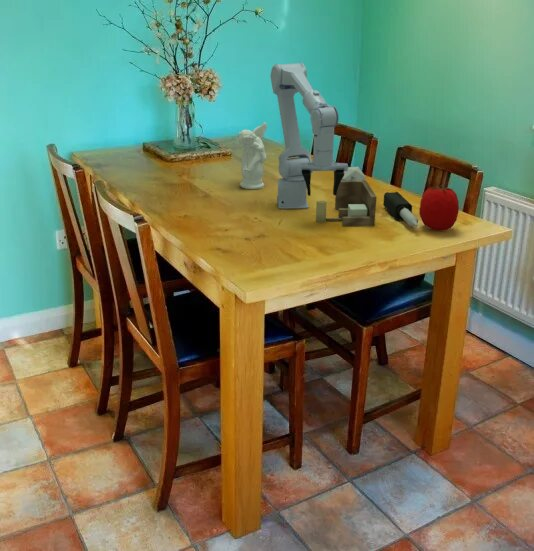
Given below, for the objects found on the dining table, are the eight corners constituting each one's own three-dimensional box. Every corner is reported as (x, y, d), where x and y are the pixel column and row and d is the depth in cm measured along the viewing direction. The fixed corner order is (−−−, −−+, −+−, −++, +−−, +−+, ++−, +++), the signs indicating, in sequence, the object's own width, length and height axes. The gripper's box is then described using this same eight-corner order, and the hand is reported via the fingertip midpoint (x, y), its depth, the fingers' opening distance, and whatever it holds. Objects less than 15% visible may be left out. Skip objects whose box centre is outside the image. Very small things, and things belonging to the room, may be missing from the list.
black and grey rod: (383, 207, 222) (407, 234, 199) (384, 192, 220) (409, 217, 197) (398, 206, 222) (424, 233, 200) (399, 191, 220) (426, 216, 198)
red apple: (440, 239, 196) (445, 194, 190) (408, 227, 205) (411, 183, 199) (466, 231, 202) (472, 187, 197) (434, 219, 211) (439, 177, 206)
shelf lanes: (342, 226, 205) (344, 197, 202) (334, 208, 221) (336, 180, 217) (374, 225, 206) (376, 196, 202) (364, 207, 221) (366, 180, 218)
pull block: (316, 224, 207) (317, 204, 204) (314, 218, 211) (315, 199, 209) (366, 223, 207) (367, 204, 205) (363, 218, 212) (364, 199, 210)
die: (333, 191, 241) (340, 173, 233) (342, 174, 245) (349, 156, 237) (354, 200, 240) (362, 184, 232) (363, 183, 244) (371, 166, 236)
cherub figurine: (246, 191, 237) (245, 127, 228) (226, 183, 246) (225, 121, 237) (274, 186, 244) (275, 123, 235) (254, 178, 253) (254, 117, 244)
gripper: (299, 152, 196) (298, 198, 202) (350, 152, 197) (348, 198, 202) (297, 147, 203) (296, 191, 208) (346, 146, 203) (344, 191, 209)
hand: (321, 194), depth 206 cm, fingers open, 7 cm apart
